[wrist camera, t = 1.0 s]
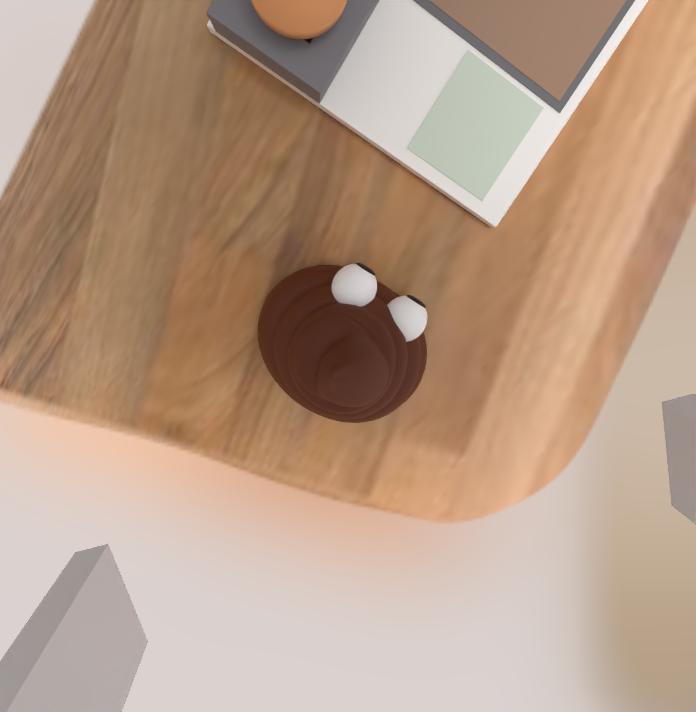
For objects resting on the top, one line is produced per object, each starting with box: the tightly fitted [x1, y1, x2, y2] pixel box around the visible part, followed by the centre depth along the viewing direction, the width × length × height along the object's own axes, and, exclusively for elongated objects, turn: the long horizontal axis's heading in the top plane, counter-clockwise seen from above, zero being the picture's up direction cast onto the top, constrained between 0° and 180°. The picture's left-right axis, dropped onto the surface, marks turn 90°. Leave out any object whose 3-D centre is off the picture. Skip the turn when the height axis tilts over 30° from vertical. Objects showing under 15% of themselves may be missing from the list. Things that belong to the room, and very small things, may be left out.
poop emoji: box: [258, 263, 427, 423], centre depth 28 cm, size 10×8×9 cm
